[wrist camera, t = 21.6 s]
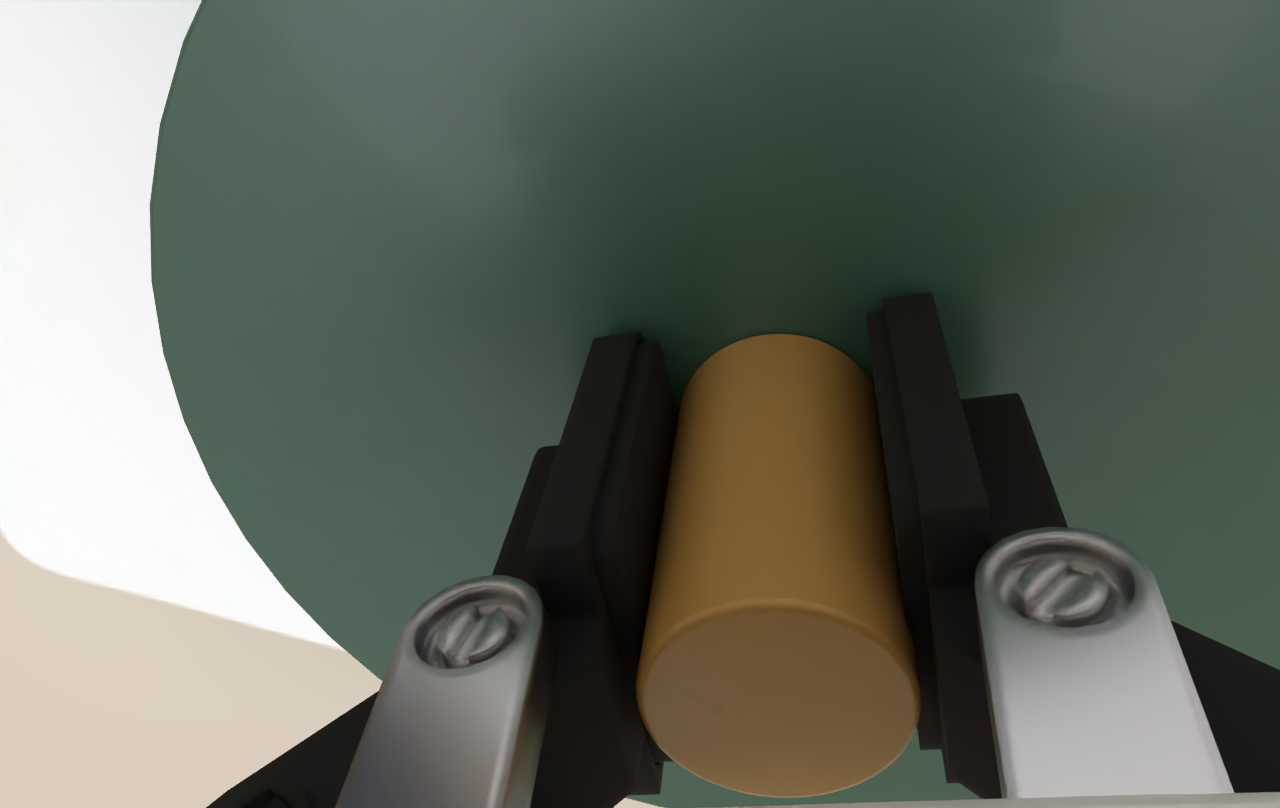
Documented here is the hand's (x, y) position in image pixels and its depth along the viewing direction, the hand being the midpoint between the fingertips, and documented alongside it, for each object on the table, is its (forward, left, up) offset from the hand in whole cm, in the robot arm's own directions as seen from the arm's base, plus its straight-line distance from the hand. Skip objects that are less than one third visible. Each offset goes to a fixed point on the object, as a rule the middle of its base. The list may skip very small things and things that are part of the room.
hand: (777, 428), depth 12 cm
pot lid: (0, 0, -1) cm, 1 cm away
